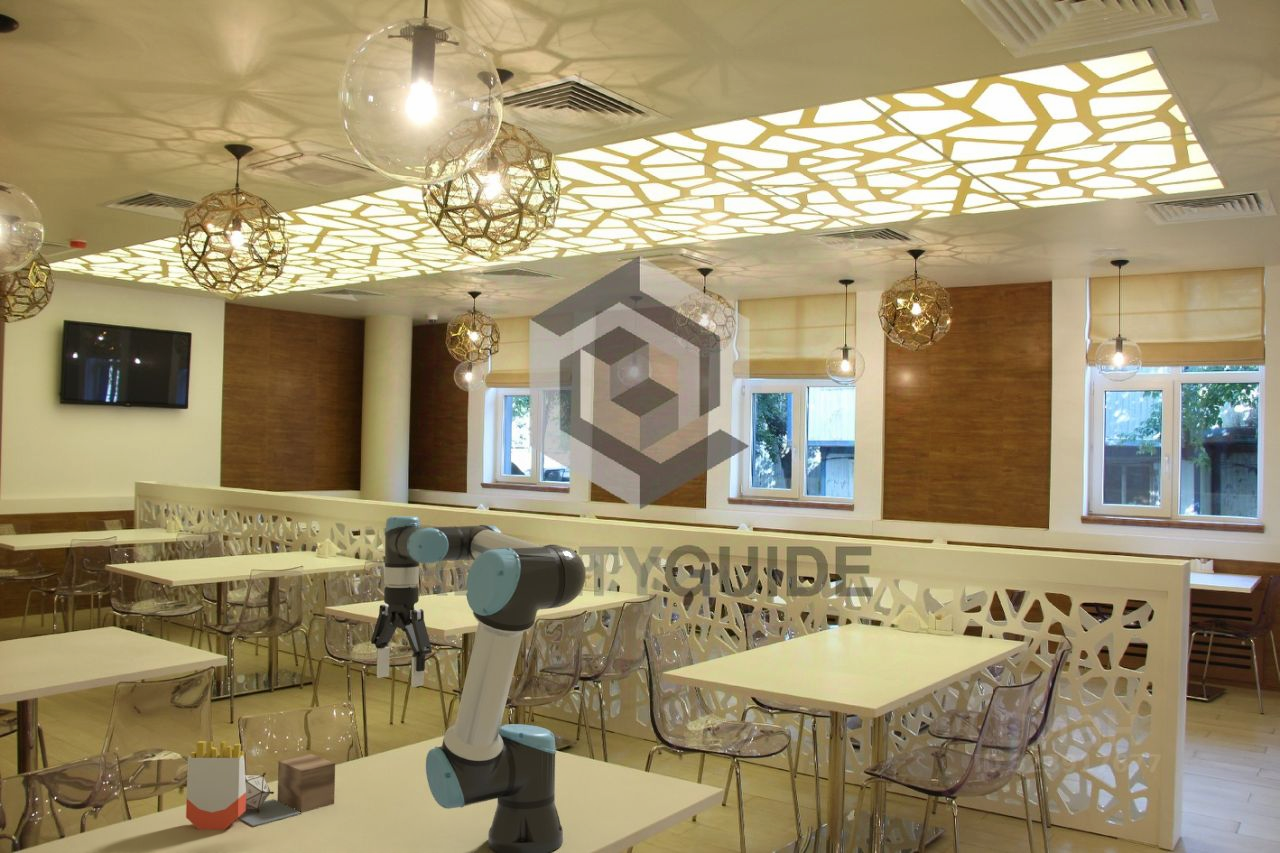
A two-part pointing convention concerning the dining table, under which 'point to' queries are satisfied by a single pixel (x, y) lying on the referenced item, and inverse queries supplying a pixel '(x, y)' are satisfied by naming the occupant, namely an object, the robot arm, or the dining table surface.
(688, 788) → the dining table surface
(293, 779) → the cardboard box
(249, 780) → the game die
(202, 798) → the french fries container
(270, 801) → the mat
